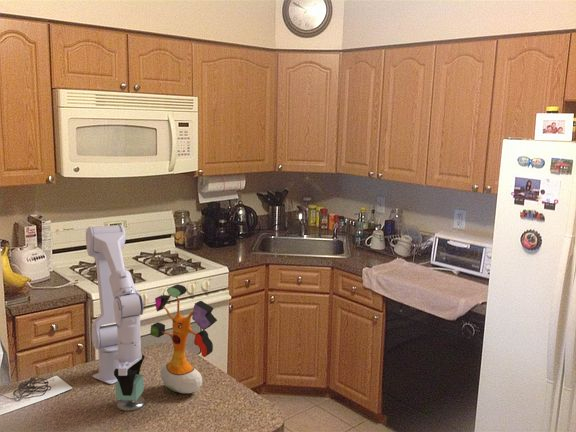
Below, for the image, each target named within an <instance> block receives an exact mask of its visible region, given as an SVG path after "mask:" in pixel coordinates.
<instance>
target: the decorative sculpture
mask: <svg viewBox="0 0 576 432" xmlns="http://www.w3.org/2000/svg"><path fill="white" fill-rule="evenodd" d="M187 289H188V288H186V286H184V285H182V284H174V285H173V286H169V287H168V288H167V289H166V292H167V293H168V295H167V294H162V295H159V296H157V297H154V300H155V309H156V312H160V311H162V310H165V311H166V313H167V317H168V318H170V320H171V321H172V333H169V332H166V325H165V324H164V323H161V322H158V321H157V322H155V323H153V324H151V325H150V333H149V335H151V336H153V337H154V338H158V339H159V338H161V337H162V336H164V335H167V336H169V337H170V339H171V341H172V344H173V353H172V357H171V360H170V361H169V362H167V363H165V364H163V365H162V367H161V369H160V378H161V380H162V383H163V384H164V385H165V387H167V388H168V389H170V390H171V391H174V392H176V393H179V394H192V393H193V394H194V393H195V392H197V391H198V390H200V388H201V386H202V384H203V377H202V375H201V373H200V371H198V370H197V369H196V368H195V367H194V366H192V365H191V364H190V362H189V361H188V360H187V358H186V353H185V349H186V346H187V339H188V335H189V334H192V335H194V343H193V344H194V345H195V346H197V347H198V348H199V349H200V353H201V357H204V358H205V357H208V356H209V355H210V354H211V353H212V352H213V351H214V344H213V342H212V340H211V339H210V338H209V334H208V332H207V331H206V329H207V330H208V328H210V327H211V326H212V325H214V324H215V323H216V322H217V321H218V319H217V318H216V317H215V316H214V315H213V313H212V312H213V310H214V309H215V308H214V307H213V306H211V305H209V304H207V303H206V302H204V301H203V300H199V301H197V302H195V303H194V306H193V311H191V312H190V313H189V314H188V315H187V316H186V317H185V316H183V315H182V314H181V313H180V299H179V298H178V297H180V296H183V295H185V294H186V293H187ZM171 297H173V298H176V301H177V304H176V305H177V307H176V310H177V312H176V315H175V316H174V317H173V316H172V315H171V313H170V312H169V310H168V309H167V308H166V305H167V303H168V301H169V299H170V298H171ZM191 319H192V320H193V321H194V322H195V324H197V326H199V328H200V329H202V330H201V331H199V332H195V331H193V329H192V327H191V324H192V323H191V322H192V321H191Z"/></svg>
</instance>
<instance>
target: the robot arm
mask: <svg viewBox="0 0 576 432" xmlns="http://www.w3.org/2000/svg"><path fill="white" fill-rule="evenodd" d="M85 242H86V243H85V244H86V252H87V255H88V256H89V257H92V258H93V259H94V262H95V267H96V268H95V269H96V275H97V277H96V278H97V286H98V297H99V307H100V314H99V316H98V317H96V318H95V319H94V320H93V322H92V324H91V342H92V345H93V348H94V349H96V350H98V372H97V373H95V374H93V375H92V378H94V379H96V380H99V381H101V382H104V383H106V384H108V385H112V384H116V382H117V381H118V382H119V384H120V387H121V391H122V394H123V396H131V395H132V391H133V383H134V379H135V375H136V374H140V372H141V368H142V364H143V362H144V360H145V357H146V356H145V355H144V354H142V346H141V345H142V342H141V340H142V339H141V337H142V336H141V335H142V334H141V330H142V329H141V316H142V315H143V314H144V301H143V297H142V295H141V293H140V292H139V290H138V289H136V287H135V283H134V280H133V276H132V273H131V272H130V271H129V270H128V269H126V268H125V267H126V266H125V262H124V257H123V252H122V250H123V249H124V246H125V243H126V230H125V227H124V226H123V225H122V224H121V223H120V224H115V225H102V226H88V227H87V228H86V230H85Z"/></svg>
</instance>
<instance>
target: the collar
mask: <svg viewBox="0 0 576 432" xmlns="http://www.w3.org/2000/svg"><path fill="white" fill-rule="evenodd" d="M144 382H145V381H144V374H140V373H139V374H136V375H135V379H134V383H133V391H132V395H131V396H123V394H122V391H121V387H120V384H119V382H118V381H117V382H115V400H120V399H121V400H134V401H136V400H137V399H138V398H139V396H140V397H141V395H142V394H143V392H144V391H145V387H144V386H145V384H144Z"/></svg>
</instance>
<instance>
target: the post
mask: <svg viewBox="0 0 576 432" xmlns="http://www.w3.org/2000/svg"><path fill="white" fill-rule="evenodd" d="M145 403H146V402H145V398H143V397H142V396H141V395H140V396H139V398H138V399H137V400H136V401H134V400H121V399H118V401H117V402H116V408H117V409H118V410H120V411H121V412H127V413H128V412H135V411H139V410H141V409H142V408H143V407H144V406H145Z"/></svg>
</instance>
